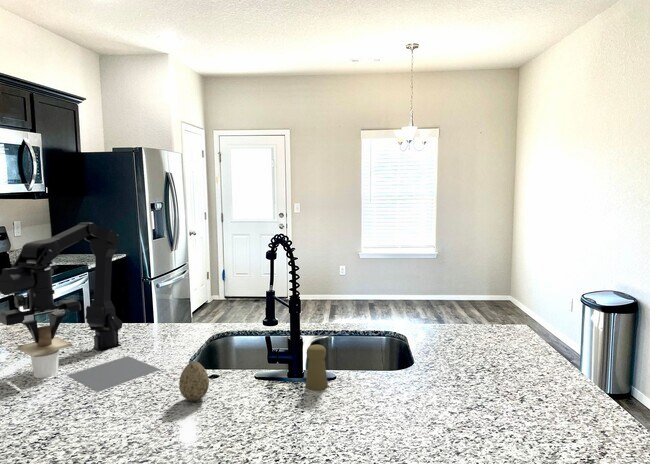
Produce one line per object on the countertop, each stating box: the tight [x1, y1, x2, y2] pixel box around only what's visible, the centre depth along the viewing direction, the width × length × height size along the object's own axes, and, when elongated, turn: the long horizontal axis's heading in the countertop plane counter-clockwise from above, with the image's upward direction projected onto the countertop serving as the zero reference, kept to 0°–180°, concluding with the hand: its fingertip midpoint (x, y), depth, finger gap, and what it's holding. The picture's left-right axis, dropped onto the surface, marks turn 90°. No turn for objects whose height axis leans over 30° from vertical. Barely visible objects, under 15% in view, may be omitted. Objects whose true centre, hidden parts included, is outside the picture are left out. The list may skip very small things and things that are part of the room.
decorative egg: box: [178, 360, 210, 402], centre depth 109 cm, size 7×7×10 cm
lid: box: [17, 325, 72, 358], centre depth 124 cm, size 10×10×6 cm
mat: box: [66, 355, 161, 393], centre depth 126 cm, size 18×18×1 cm
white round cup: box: [30, 349, 60, 379], centre depth 125 cm, size 7×7×7 cm
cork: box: [305, 344, 329, 392], centre depth 116 cm, size 6×6×11 cm
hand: (44, 340), depth 124 cm, fingers closed on lid, 3 cm apart
